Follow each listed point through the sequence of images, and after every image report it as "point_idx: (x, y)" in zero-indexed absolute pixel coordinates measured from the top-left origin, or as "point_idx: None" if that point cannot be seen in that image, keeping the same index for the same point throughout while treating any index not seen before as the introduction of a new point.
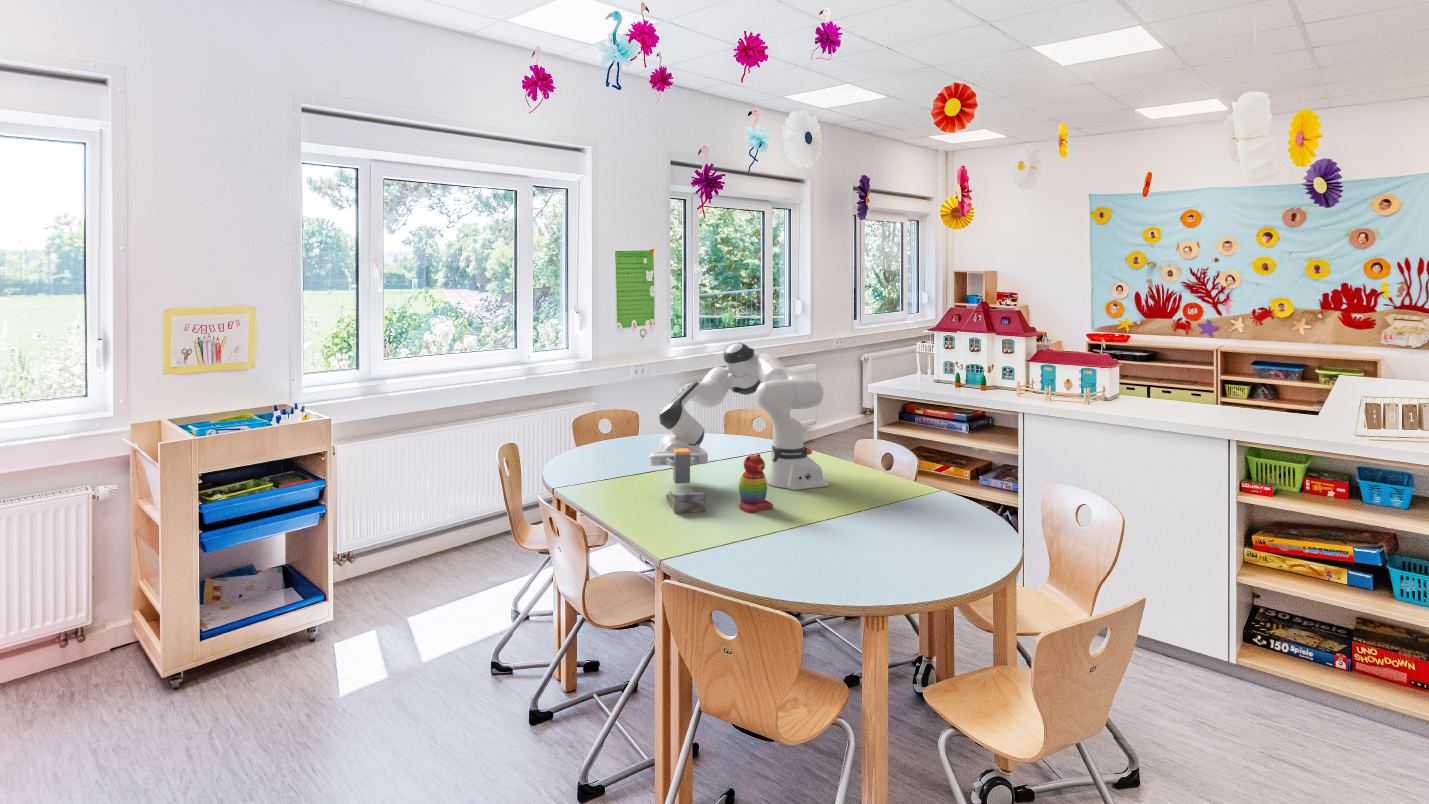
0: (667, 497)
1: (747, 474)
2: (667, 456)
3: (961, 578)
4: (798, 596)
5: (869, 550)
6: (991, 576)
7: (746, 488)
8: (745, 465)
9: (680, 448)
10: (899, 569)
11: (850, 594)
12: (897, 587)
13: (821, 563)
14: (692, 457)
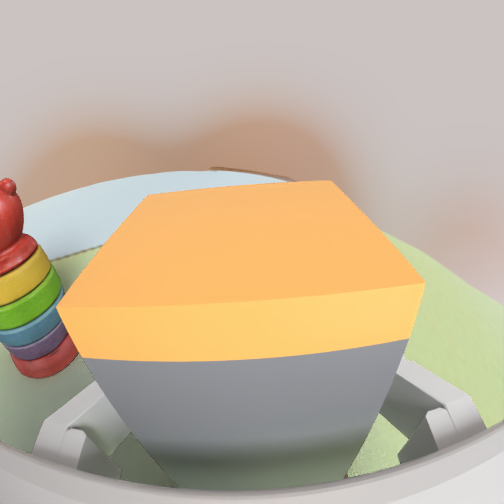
0: (346, 477)
1: (29, 237)
2: (475, 435)
3: (67, 194)
4: (197, 172)
5: (70, 214)
6: (49, 198)
7: (55, 270)
8: (19, 209)
9: (234, 297)
10: (87, 197)
11: (157, 176)
12: (117, 183)
13: (137, 196)
14: (64, 430)
